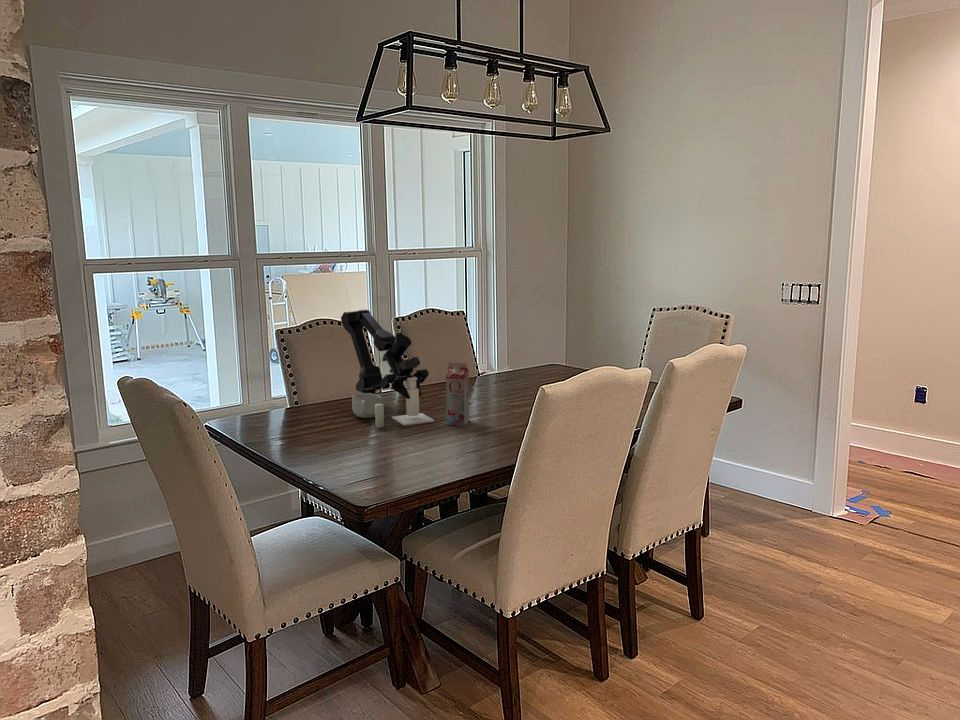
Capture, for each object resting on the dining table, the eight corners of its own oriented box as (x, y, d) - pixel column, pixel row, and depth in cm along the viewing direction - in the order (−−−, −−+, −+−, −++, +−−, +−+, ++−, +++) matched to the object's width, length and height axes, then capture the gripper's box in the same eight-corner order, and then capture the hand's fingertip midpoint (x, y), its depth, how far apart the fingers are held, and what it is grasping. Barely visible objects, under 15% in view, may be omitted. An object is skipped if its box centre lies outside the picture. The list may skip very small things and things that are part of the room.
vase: (404, 415, 277) (404, 378, 274) (408, 412, 281) (407, 376, 279) (417, 416, 276) (416, 379, 273) (420, 413, 280) (420, 377, 278)
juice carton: (464, 425, 271) (464, 364, 267) (446, 424, 272) (446, 364, 269) (468, 420, 278) (468, 361, 274) (451, 419, 279) (450, 360, 275)
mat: (391, 418, 282) (391, 416, 281) (421, 414, 287) (421, 412, 287) (403, 425, 271) (403, 424, 271) (434, 421, 276) (434, 420, 276)
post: (374, 426, 270) (373, 404, 269) (382, 425, 272) (381, 403, 270) (377, 428, 268) (376, 406, 266) (385, 427, 269) (384, 405, 268)
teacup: (358, 412, 291) (358, 391, 290) (385, 413, 289) (385, 392, 288) (345, 421, 278) (344, 399, 276) (373, 422, 275) (372, 401, 274)
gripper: (383, 353, 271) (402, 388, 265) (425, 347, 283) (444, 381, 277) (372, 371, 279) (389, 406, 272) (413, 365, 291) (431, 398, 284)
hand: (414, 397), depth 276 cm, fingers closed on vase, 4 cm apart
